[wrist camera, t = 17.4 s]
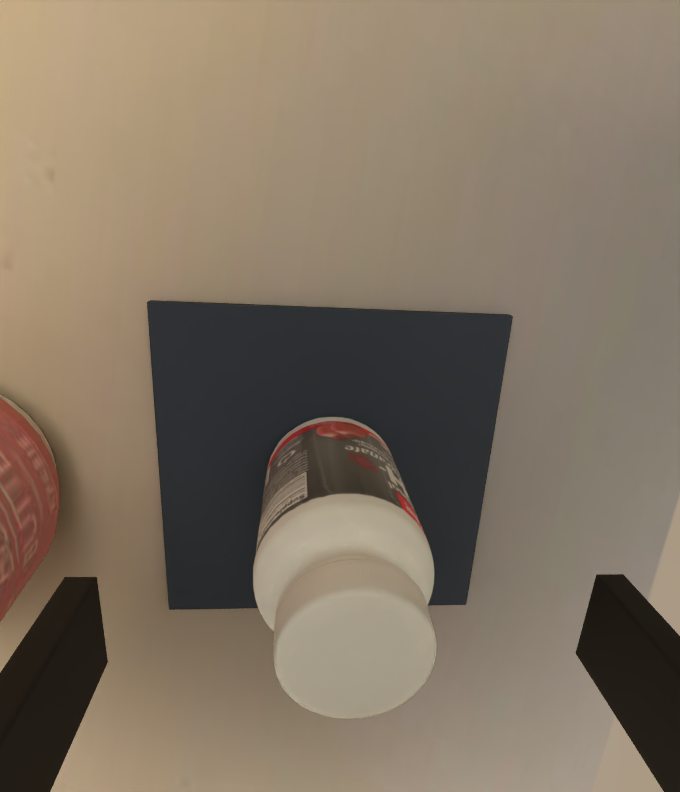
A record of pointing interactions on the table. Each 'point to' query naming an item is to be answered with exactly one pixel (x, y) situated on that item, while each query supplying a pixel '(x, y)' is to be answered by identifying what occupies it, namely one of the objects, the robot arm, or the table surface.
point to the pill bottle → (343, 572)
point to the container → (24, 500)
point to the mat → (309, 399)
